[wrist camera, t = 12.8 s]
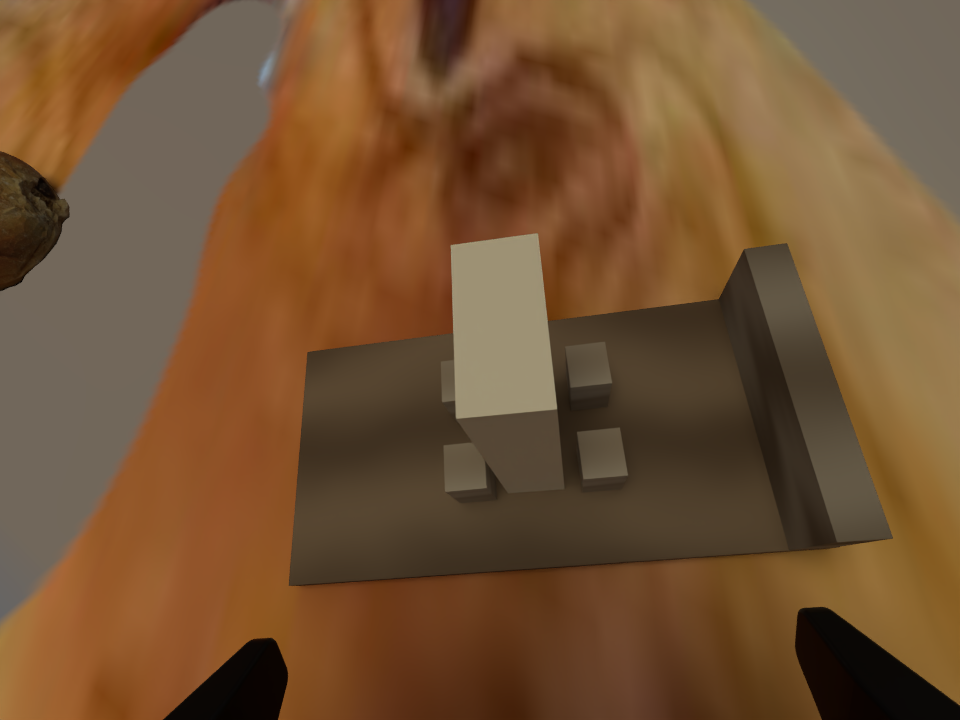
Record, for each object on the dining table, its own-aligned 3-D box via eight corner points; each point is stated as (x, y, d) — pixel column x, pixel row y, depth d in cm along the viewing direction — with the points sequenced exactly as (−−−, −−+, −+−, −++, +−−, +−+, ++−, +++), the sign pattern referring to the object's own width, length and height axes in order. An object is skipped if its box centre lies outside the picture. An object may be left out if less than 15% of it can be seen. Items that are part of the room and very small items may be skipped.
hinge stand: (828, 548, 21) (900, 538, 16) (299, 585, 23) (233, 585, 19) (752, 304, 25) (792, 242, 21) (316, 359, 28) (266, 315, 23)
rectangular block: (564, 489, 22) (557, 409, 12) (489, 494, 23) (423, 422, 13) (552, 379, 24) (537, 233, 14) (483, 386, 25) (422, 248, 15)
